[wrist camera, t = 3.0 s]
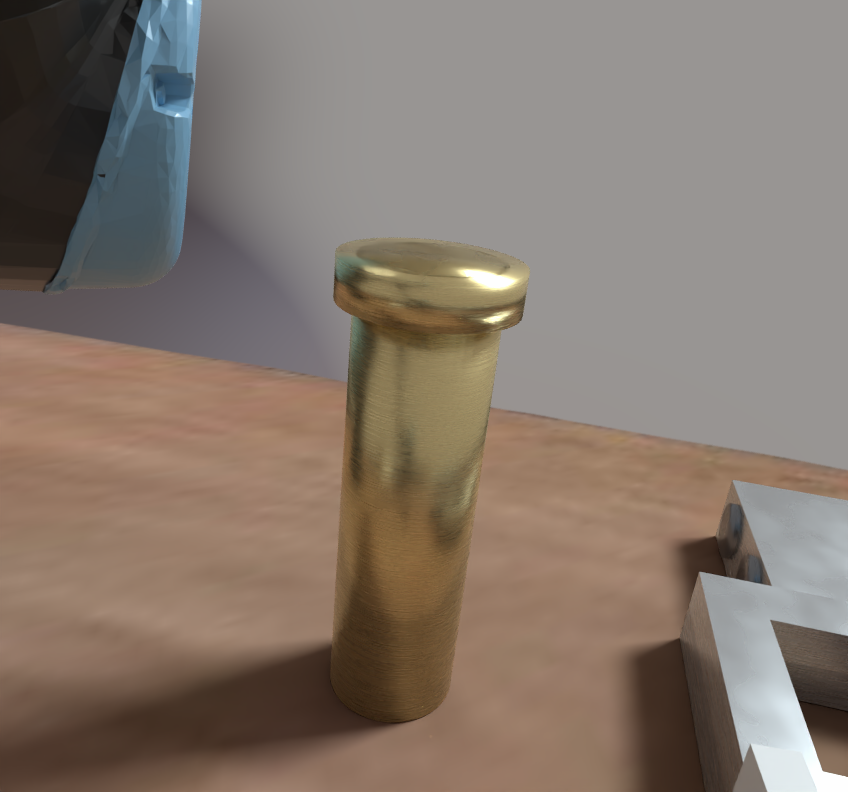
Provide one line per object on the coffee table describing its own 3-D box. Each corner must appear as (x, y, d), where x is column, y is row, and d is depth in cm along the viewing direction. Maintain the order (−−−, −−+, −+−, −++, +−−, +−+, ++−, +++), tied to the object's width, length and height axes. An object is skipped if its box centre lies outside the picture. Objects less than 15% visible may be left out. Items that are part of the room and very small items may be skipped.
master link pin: (294, 644, 25) (307, 237, 19) (422, 609, 27) (466, 237, 22) (349, 758, 21) (386, 288, 16) (493, 705, 23) (569, 280, 18)
